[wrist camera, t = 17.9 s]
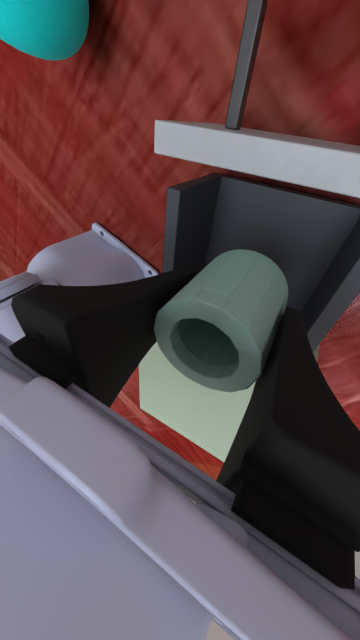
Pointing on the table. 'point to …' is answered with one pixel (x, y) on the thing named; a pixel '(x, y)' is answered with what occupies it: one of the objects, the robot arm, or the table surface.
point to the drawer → (266, 200)
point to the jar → (224, 321)
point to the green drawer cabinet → (192, 404)
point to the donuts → (45, 26)
